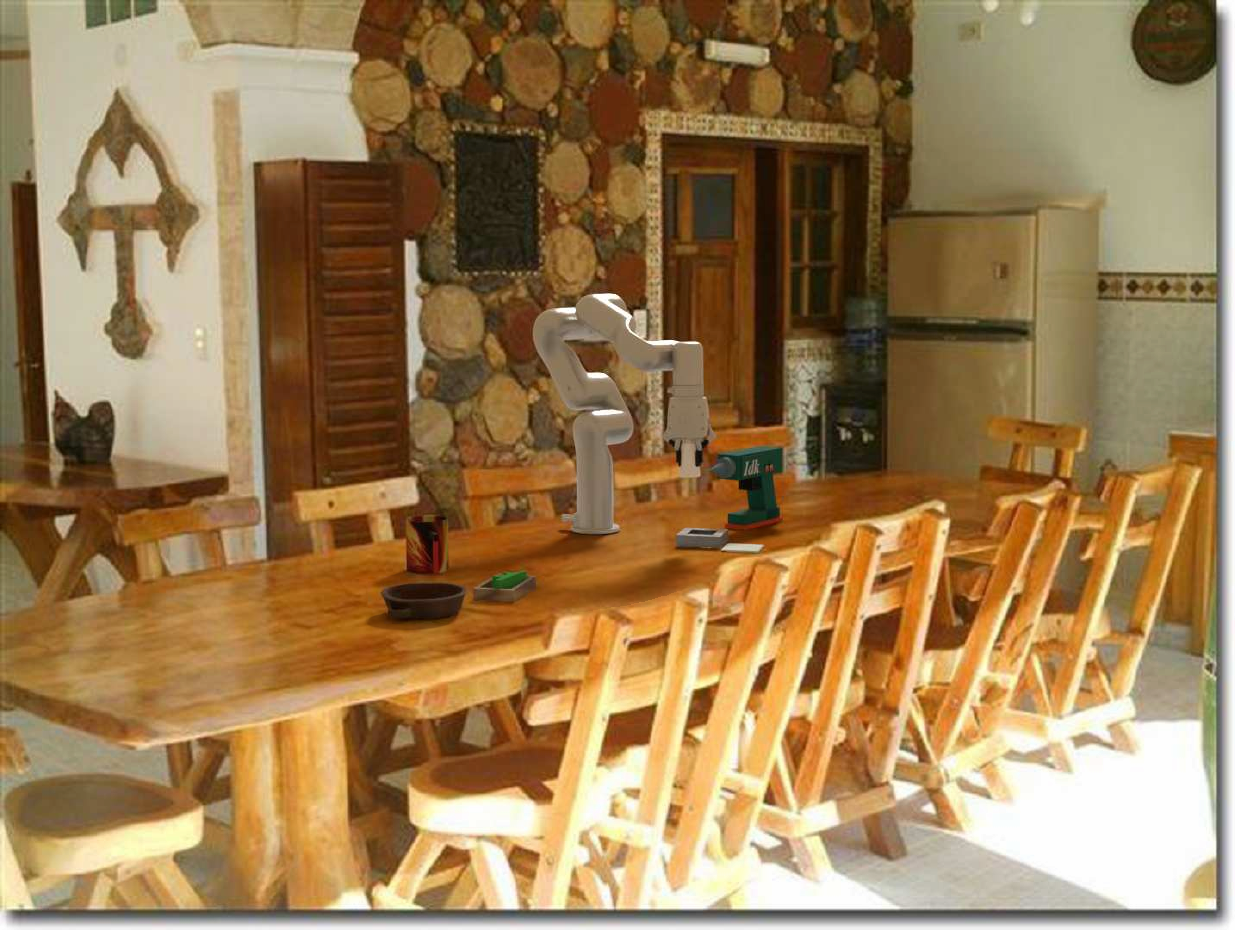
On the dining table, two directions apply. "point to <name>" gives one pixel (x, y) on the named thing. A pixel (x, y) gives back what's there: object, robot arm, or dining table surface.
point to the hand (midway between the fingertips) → (689, 465)
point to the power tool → (752, 483)
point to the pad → (742, 548)
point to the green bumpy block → (508, 580)
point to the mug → (427, 544)
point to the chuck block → (702, 537)
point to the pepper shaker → (688, 459)
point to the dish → (423, 600)
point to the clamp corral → (503, 590)
